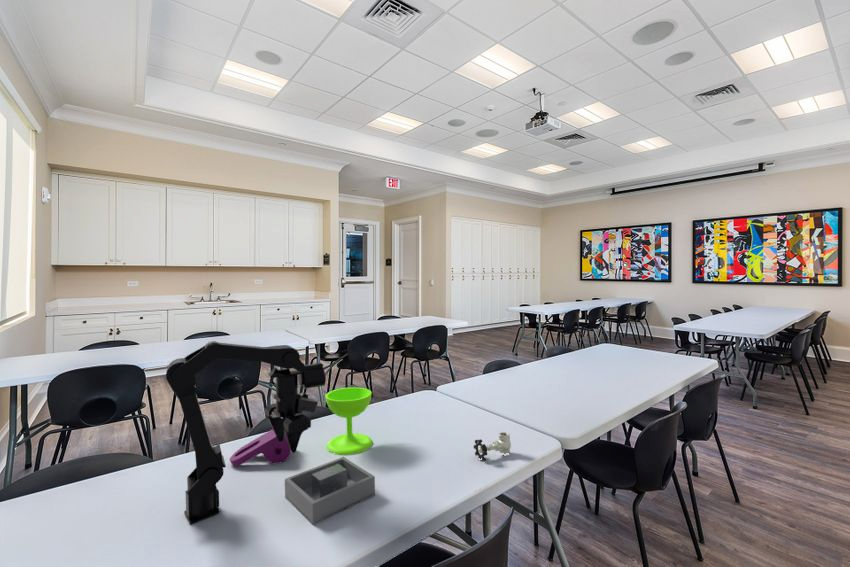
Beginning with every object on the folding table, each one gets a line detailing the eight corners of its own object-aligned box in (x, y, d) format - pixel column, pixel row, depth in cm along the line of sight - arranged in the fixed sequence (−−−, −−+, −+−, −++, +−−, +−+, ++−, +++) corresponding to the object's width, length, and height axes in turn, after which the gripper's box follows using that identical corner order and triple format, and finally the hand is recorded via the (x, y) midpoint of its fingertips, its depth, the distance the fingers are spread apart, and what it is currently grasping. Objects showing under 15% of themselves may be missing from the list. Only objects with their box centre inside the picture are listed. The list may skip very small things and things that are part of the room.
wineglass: (352, 459, 124) (351, 403, 123) (316, 449, 131) (315, 397, 131) (381, 440, 138) (380, 390, 137) (347, 432, 145) (346, 385, 145)
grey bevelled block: (320, 503, 98) (319, 480, 98) (312, 496, 102) (311, 474, 101) (347, 491, 104) (346, 469, 104) (338, 485, 107) (338, 463, 107)
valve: (503, 448, 130) (473, 456, 124) (503, 429, 129) (473, 436, 124) (516, 456, 124) (484, 465, 118) (515, 436, 123) (484, 444, 118)
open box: (312, 524, 91) (312, 504, 91) (285, 497, 102) (284, 479, 102) (374, 494, 103) (374, 476, 103) (343, 473, 115) (343, 456, 115)
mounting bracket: (240, 487, 119) (295, 454, 123) (226, 465, 118) (282, 433, 122) (245, 473, 128) (295, 442, 132) (232, 452, 127) (283, 422, 131)
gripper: (329, 392, 105) (329, 449, 105) (300, 379, 119) (301, 429, 119) (289, 401, 98) (289, 461, 98) (264, 386, 112) (264, 439, 112)
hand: (287, 446), depth 107 cm, fingers open, 9 cm apart
